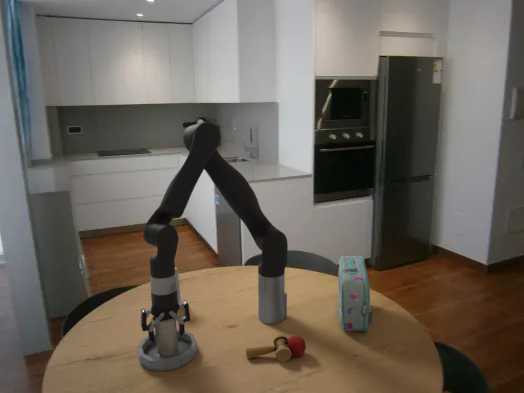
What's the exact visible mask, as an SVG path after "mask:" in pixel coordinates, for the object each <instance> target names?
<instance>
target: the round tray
mask: <svg viewBox="0 0 524 393" xmlns="http://www.w3.org/2000/svg"><path fill="white" fill-rule="evenodd" d="M154 340H155V342H153V343H152V341H150V340H149V335H147V336H146V337H144V338H143V339H142V340H140V343H139V344H138V346H137V354H138V362H139V364H140V365H141V366H142V367H143V368H144V369H147V370H149V371H153V372H168V371H169V372H170V371H175V370H177V369H180V368H183V367H185V366H187V365H188V364H189V363H190V362H192V361H193V360H194V358H195V357H196V355H197V351H198V350H197V349H198V344H197V343H198V341H197V339H196V338H195V336H194V334H193V333H191V332H189V331H187V330H185V332H184V333H183V335H182V336H180V334H179V328H178V329H177V340H178V350H177V351H176V352H175V353H174V354H173V355H172V356H167V355H161V354H157V343H156V333H155V331H154Z"/></svg>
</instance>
